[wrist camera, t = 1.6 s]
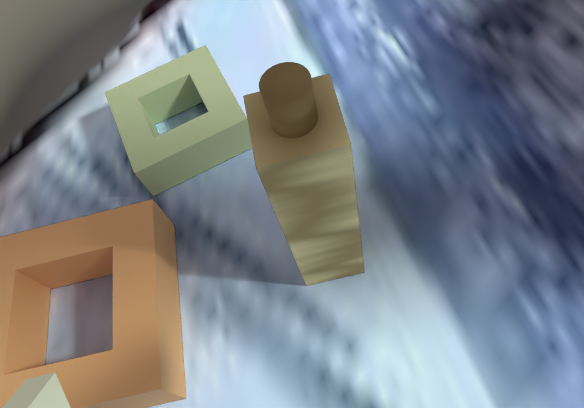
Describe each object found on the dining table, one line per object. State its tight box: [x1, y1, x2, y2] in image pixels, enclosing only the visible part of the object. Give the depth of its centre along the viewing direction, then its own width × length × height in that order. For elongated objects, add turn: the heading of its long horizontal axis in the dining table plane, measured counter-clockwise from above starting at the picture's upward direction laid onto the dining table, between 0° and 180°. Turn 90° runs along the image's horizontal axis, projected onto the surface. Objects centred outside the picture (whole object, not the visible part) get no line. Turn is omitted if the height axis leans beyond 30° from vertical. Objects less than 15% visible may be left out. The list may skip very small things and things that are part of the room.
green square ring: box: [105, 45, 252, 196], centre depth 35 cm, size 8×8×3 cm
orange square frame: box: [0, 199, 186, 408], centre depth 28 cm, size 11×11×4 cm
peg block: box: [243, 62, 364, 286], centre depth 23 cm, size 4×4×15 cm
